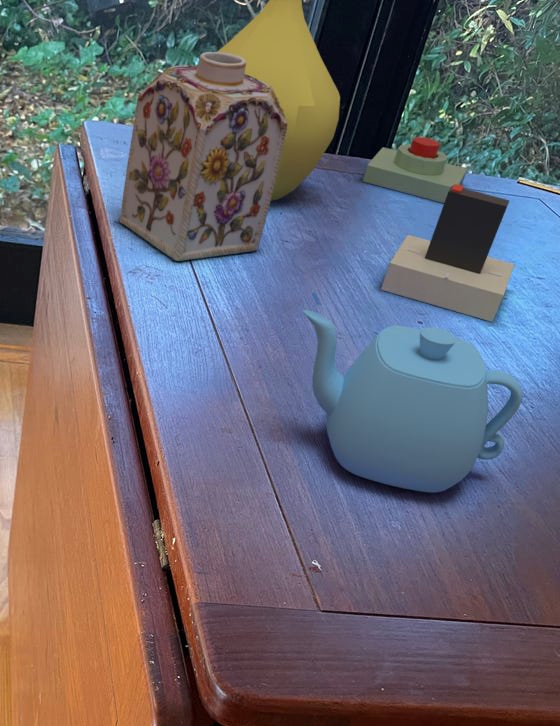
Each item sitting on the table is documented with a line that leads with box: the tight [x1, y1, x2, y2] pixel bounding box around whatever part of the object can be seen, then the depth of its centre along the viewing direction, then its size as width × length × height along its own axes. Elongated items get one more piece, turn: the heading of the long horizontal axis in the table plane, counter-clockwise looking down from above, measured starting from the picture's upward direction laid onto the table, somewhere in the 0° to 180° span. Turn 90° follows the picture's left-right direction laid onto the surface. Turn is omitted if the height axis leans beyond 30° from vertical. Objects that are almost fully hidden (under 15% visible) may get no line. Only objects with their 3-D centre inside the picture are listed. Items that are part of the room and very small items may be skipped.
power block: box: [362, 143, 468, 204], centre depth 134 cm, size 12×10×4 cm
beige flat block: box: [380, 234, 516, 323], centre depth 108 cm, size 12×10×3 cm
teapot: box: [302, 309, 523, 493], centre depth 78 cm, size 13×11×18 cm
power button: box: [409, 136, 441, 158], centre depth 133 cm, size 4×4×2 cm
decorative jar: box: [119, 51, 288, 262], centre depth 105 cm, size 12×12×18 cm
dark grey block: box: [425, 184, 510, 273], centre depth 104 cm, size 6×2×7 cm, turn 65°
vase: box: [217, 0, 341, 202], centre depth 116 cm, size 18×18×30 cm
